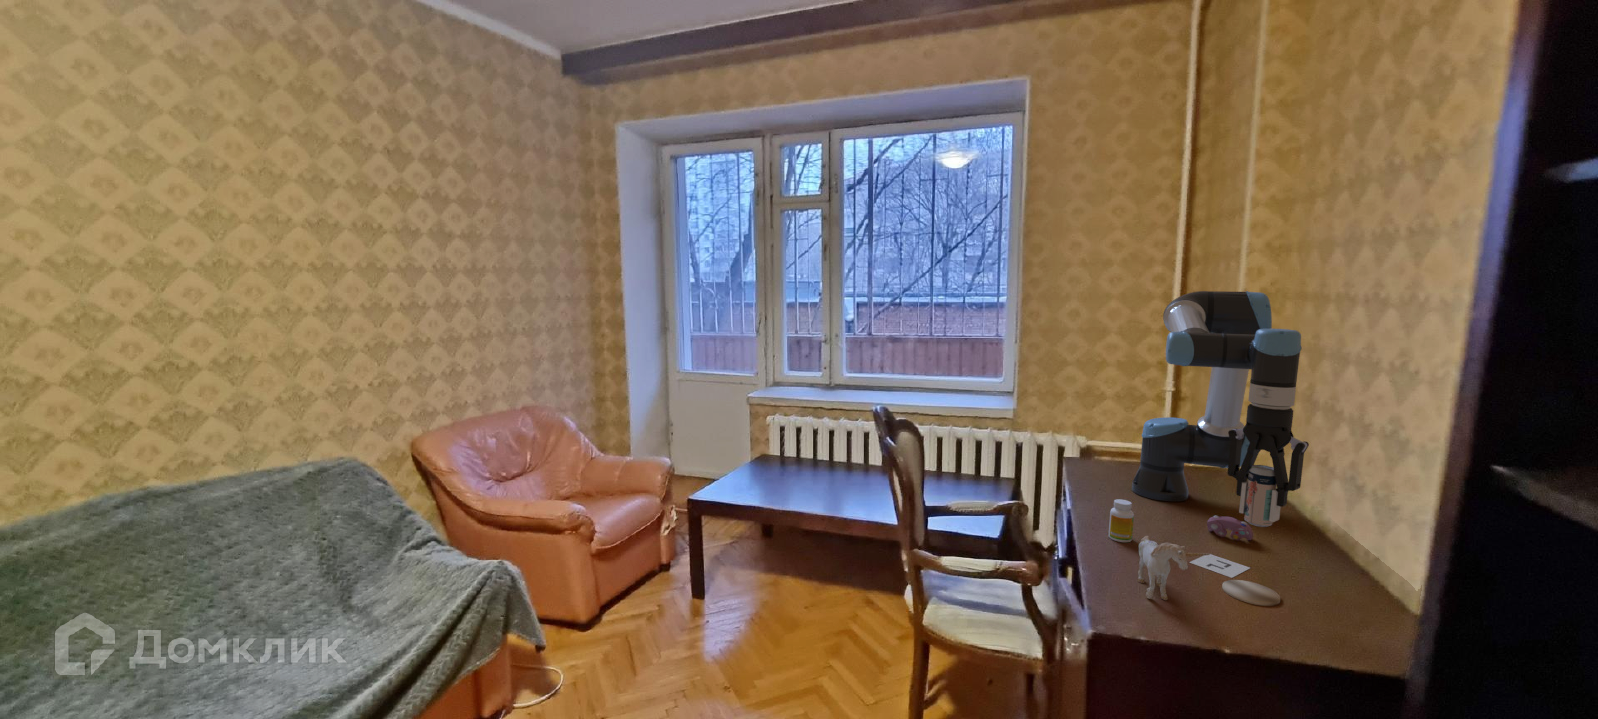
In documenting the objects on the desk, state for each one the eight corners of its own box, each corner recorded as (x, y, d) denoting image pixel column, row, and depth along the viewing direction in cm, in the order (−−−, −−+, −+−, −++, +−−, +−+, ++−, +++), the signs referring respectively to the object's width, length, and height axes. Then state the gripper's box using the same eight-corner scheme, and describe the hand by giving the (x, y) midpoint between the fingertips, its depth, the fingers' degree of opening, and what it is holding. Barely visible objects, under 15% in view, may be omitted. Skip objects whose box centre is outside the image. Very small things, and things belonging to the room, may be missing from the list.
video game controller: (1205, 538, 167) (1204, 519, 164) (1209, 526, 170) (1208, 507, 166) (1251, 549, 160) (1251, 529, 157) (1254, 537, 163) (1255, 517, 160)
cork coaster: (1235, 578, 142) (1235, 575, 142) (1288, 597, 133) (1289, 594, 133) (1213, 590, 136) (1213, 587, 136) (1267, 610, 128) (1267, 608, 128)
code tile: (1208, 553, 154) (1208, 553, 154) (1250, 568, 147) (1250, 567, 147) (1189, 562, 149) (1189, 562, 149) (1231, 577, 142) (1231, 577, 142)
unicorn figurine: (1167, 619, 125) (1173, 554, 123) (1115, 572, 144) (1119, 516, 142) (1203, 618, 125) (1210, 553, 123) (1146, 572, 144) (1151, 515, 142)
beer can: (1246, 517, 136) (1252, 462, 134) (1274, 523, 133) (1280, 467, 131) (1241, 523, 133) (1247, 467, 131) (1269, 530, 129) (1275, 472, 128)
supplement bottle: (1134, 543, 160) (1137, 506, 158) (1111, 541, 161) (1114, 504, 159) (1128, 535, 165) (1131, 499, 164) (1105, 533, 166) (1108, 497, 165)
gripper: (1213, 399, 135) (1203, 506, 138) (1316, 415, 120) (1302, 534, 123) (1230, 396, 139) (1220, 499, 142) (1332, 411, 124) (1318, 526, 127)
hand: (1258, 515), depth 132 cm, fingers closed on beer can, 5 cm apart
